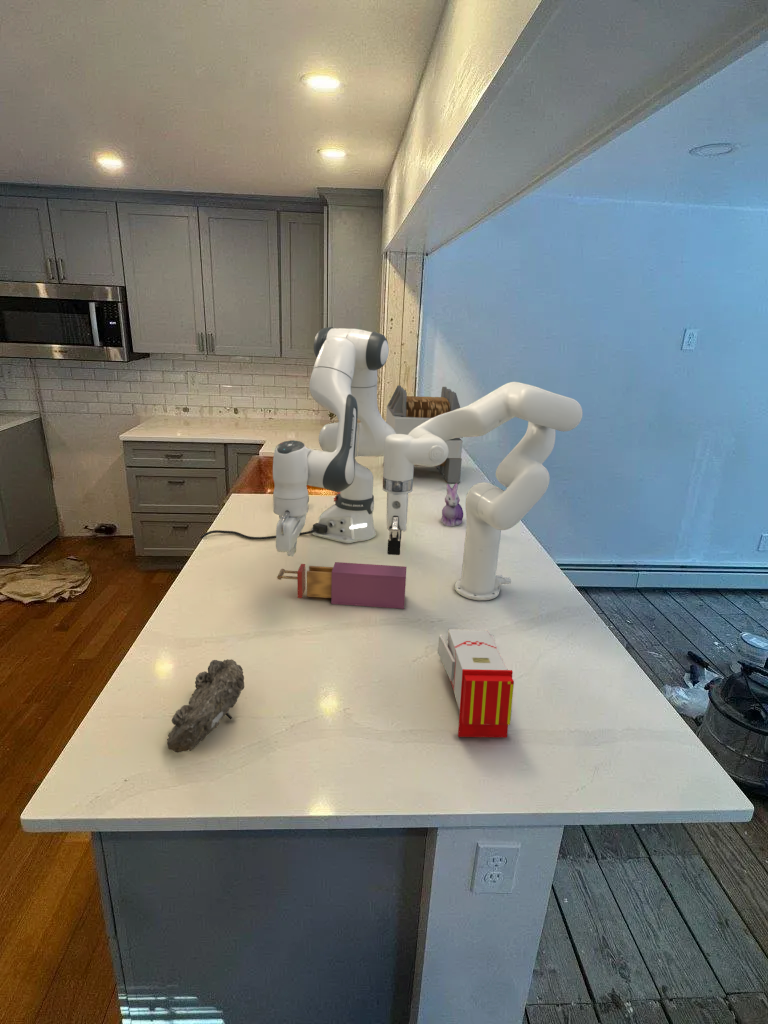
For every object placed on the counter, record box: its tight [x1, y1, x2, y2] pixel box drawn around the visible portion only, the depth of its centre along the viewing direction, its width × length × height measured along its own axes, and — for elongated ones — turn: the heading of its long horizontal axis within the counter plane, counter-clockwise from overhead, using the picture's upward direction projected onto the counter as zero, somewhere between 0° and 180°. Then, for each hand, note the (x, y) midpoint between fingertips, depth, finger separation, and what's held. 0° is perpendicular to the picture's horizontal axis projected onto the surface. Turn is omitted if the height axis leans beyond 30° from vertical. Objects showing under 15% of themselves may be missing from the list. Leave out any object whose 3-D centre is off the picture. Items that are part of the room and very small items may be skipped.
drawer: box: [276, 563, 334, 599], centre depth 152 cm, size 24×5×8 cm, turn 87°
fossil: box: [166, 658, 245, 754], centre depth 106 cm, size 22×10×15 cm
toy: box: [437, 628, 515, 738], centre depth 117 cm, size 12×13×30 cm
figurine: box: [440, 483, 464, 527], centre depth 210 cm, size 9×10×15 cm
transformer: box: [383, 384, 464, 484], centre depth 268 cm, size 34×33×41 cm
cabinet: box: [330, 561, 407, 610], centre depth 152 cm, size 19×6×9 cm, turn 87°
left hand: (291, 554), depth 150 cm, fingers closed
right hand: (394, 546), depth 148 cm, fingers open, 9 cm apart
